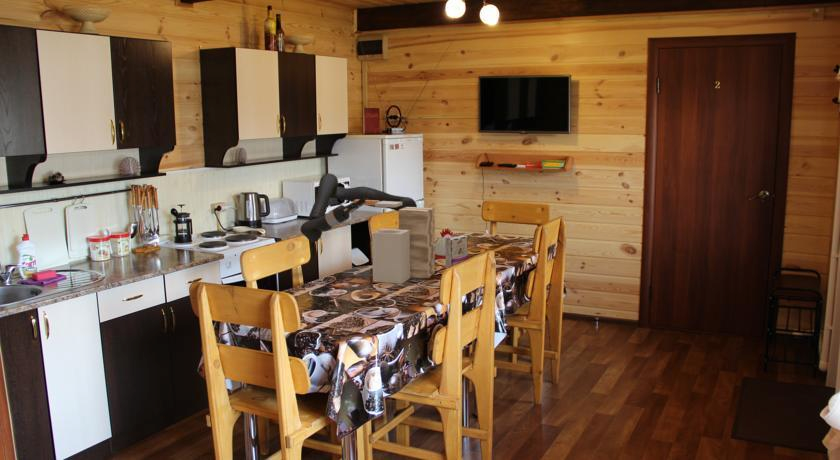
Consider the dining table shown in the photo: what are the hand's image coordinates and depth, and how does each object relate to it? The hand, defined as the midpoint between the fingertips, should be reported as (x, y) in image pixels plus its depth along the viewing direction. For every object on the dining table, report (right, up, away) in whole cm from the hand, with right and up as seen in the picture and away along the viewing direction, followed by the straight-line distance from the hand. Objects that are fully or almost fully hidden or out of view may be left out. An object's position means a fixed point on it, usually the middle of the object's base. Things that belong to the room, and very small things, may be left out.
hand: (365, 199), depth 347 cm
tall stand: (+24, -36, +12) cm, 45 cm away
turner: (+6, -3, -2) cm, 7 cm away
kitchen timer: (+40, -28, +55) cm, 74 cm away
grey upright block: (+12, -38, +2) cm, 40 cm away
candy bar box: (+43, -34, +22) cm, 59 cm away
